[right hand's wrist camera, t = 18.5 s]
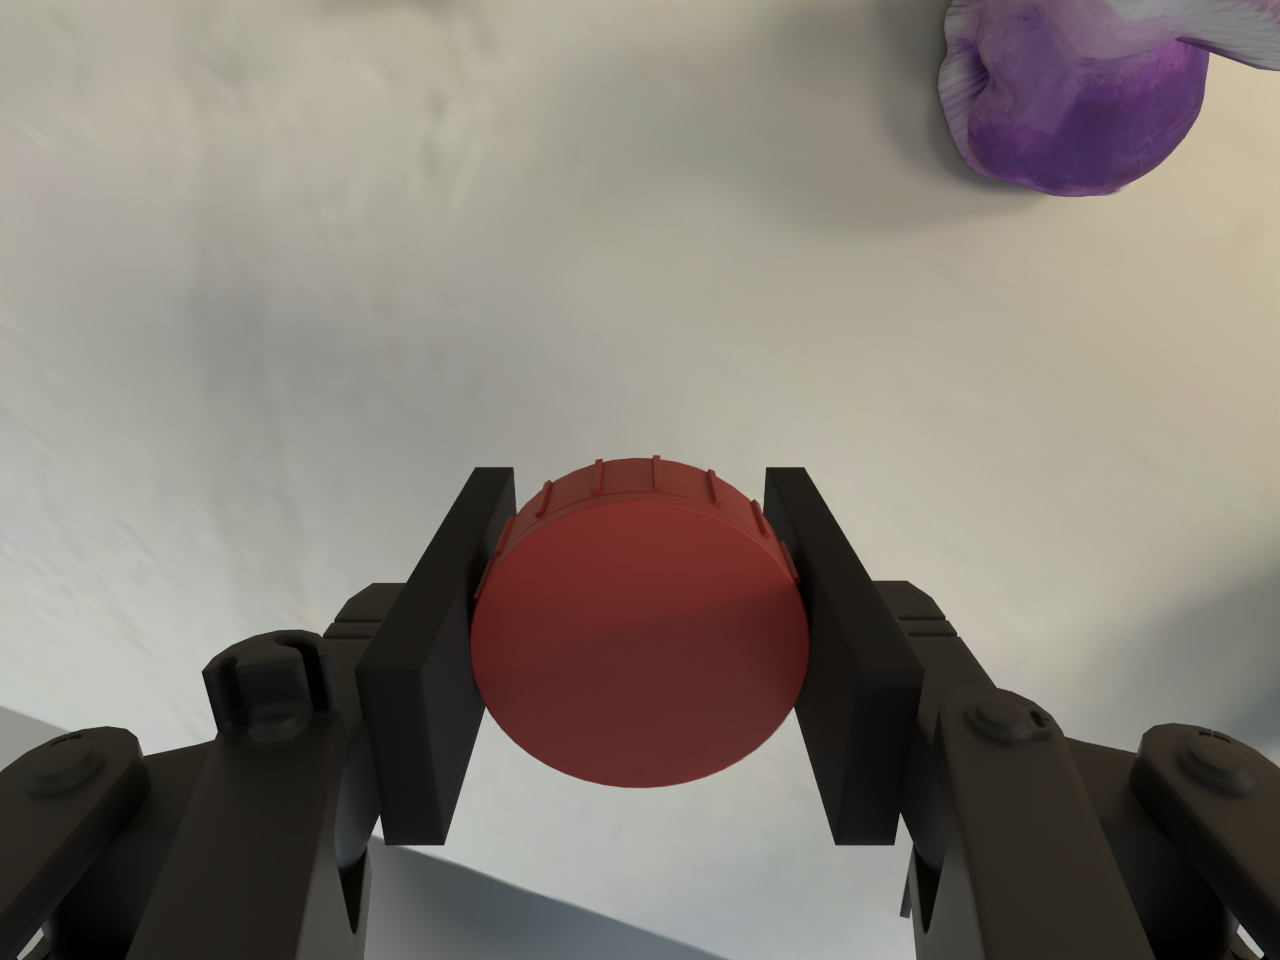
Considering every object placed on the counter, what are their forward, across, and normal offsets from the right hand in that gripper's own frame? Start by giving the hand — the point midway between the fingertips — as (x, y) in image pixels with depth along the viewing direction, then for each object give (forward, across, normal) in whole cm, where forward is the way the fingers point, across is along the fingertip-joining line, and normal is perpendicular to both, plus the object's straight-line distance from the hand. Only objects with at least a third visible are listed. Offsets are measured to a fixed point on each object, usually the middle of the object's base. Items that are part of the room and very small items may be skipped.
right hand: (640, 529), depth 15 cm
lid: (-4, 0, 0) cm, 4 cm away
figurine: (+22, -16, -11) cm, 30 cm away
